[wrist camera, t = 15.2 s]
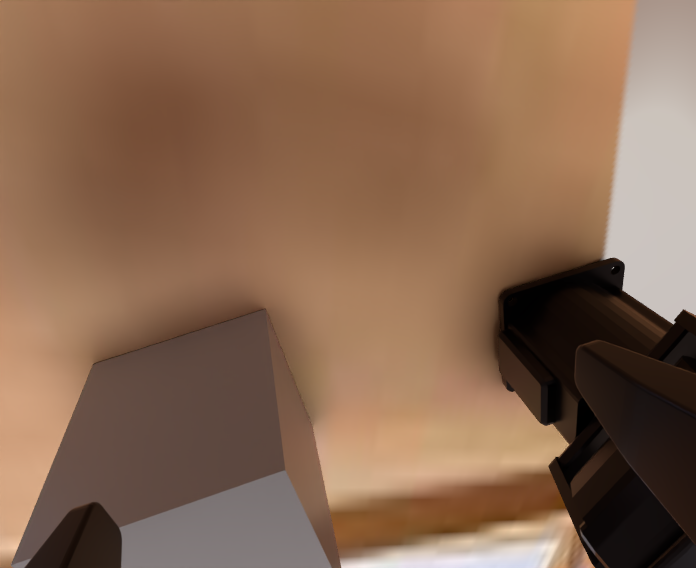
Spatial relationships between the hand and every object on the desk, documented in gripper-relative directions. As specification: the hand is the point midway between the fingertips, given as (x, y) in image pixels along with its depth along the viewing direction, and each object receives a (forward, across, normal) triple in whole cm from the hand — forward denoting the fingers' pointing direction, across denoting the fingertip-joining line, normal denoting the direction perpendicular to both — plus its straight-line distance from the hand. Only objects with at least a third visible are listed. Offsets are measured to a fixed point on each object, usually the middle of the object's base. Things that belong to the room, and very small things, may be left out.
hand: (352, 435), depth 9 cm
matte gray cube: (+12, +6, +8) cm, 16 cm away
